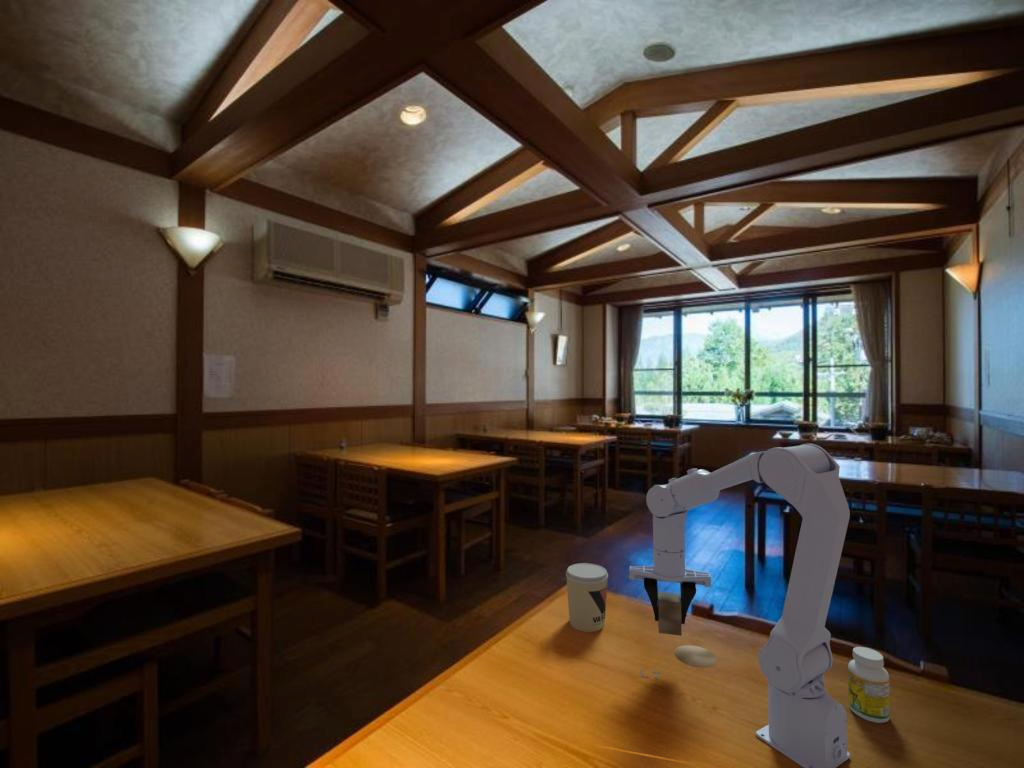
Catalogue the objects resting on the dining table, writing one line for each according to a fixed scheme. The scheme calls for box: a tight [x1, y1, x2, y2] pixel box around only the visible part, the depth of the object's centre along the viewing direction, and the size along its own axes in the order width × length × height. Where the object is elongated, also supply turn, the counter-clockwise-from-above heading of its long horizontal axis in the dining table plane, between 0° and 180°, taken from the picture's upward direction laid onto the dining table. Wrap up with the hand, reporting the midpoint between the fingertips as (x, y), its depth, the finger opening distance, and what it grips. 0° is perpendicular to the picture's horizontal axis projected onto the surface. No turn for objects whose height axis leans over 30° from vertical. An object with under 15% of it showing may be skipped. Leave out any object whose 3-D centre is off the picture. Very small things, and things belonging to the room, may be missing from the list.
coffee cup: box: [565, 562, 609, 633], centre depth 107 cm, size 9×9×12 cm
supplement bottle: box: [847, 646, 891, 724], centre depth 78 cm, size 5×5×10 cm
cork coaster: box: [674, 644, 717, 668], centre depth 94 cm, size 8×8×1 cm
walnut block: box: [657, 591, 682, 637], centre depth 90 cm, size 4×4×6 cm
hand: (669, 620), depth 90 cm, fingers closed on walnut block, 4 cm apart
